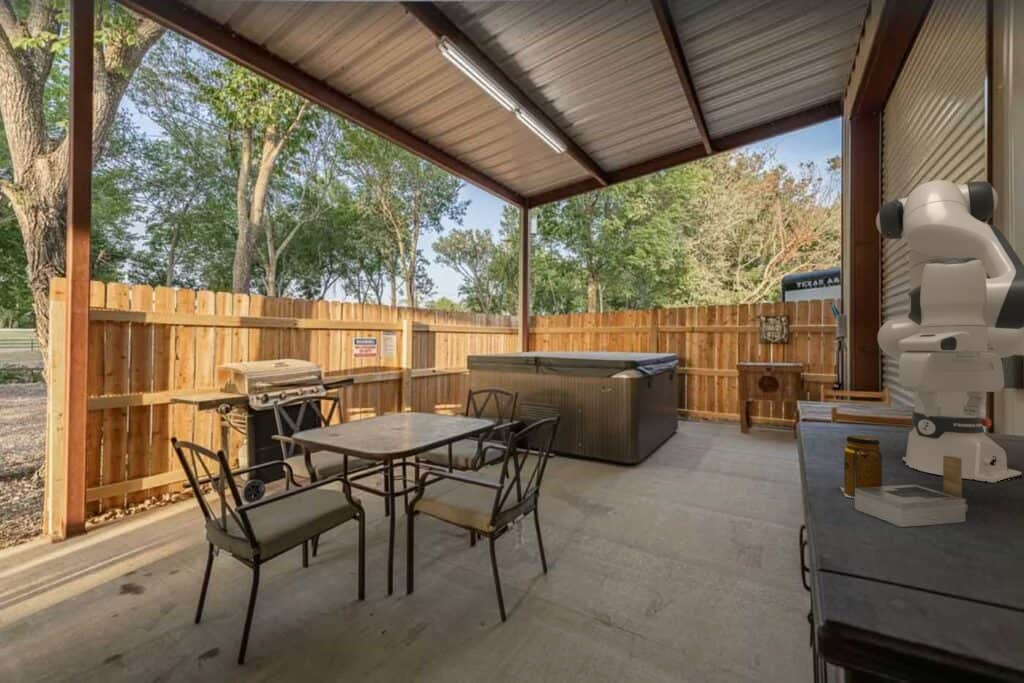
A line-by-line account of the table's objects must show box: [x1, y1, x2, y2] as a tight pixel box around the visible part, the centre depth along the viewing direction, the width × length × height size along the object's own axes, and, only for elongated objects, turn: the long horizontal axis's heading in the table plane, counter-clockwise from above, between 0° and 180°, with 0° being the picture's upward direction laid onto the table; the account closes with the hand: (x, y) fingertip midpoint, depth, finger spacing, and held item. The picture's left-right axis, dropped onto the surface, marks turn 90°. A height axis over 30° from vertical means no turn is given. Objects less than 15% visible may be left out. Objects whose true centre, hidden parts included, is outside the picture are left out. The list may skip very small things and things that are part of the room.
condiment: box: [839, 435, 883, 499], centre depth 87 cm, size 7×8×12 cm
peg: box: [942, 456, 969, 516], centre depth 80 cm, size 4×4×10 cm
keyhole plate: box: [854, 483, 966, 528], centre depth 77 cm, size 14×8×4 cm, turn 101°
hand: (952, 415), depth 80 cm, fingers open, 8 cm apart
